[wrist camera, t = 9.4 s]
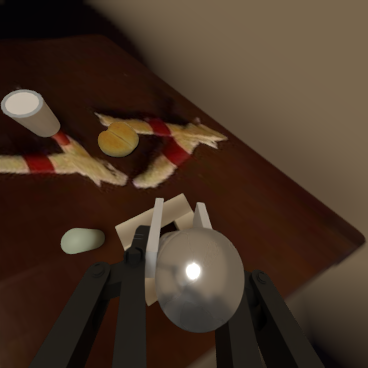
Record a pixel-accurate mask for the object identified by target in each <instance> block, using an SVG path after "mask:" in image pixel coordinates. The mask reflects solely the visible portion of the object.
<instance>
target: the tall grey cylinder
mask: <svg viewBox="0 0 368 368" xmlns="http://www.w3.org/2000/svg"><path fill="white" fill-rule="evenodd" d="M243 290H244V269H243V265H242V261H241V258H240V256H239V254H238V252H237V250H236V248H235V247H234V245H233V244H232V243H231V242H230V241H229V240H228V239H227V238H226V237H225V236H224V235H222V234H221V233H219V232H217V231H215V230H213V229H209V228H204V227H195V228H189V229H184V230H179V231H174V232H168V233H166V234H164V235H163V236H162V237H161V238H160V239H159V245H158V252H157V257H156V267H155V291H156V295H157V299H158V301H159V304H160V306H161V308H162V310H163V312H164V313H165V314H166V316H167V317H168V318H169V319H170V320H171V321H172V322H173V323H174V324H175V325H177V326H178V327H180V328H182V329H184V330H187V331H190V332H195V333H203V332H209V331H212V330H215V329H217V328H219V327H221V326H222V325H223V324H225V323H226V322H227V321H228V320H229V319H230V318H231V317H232V316H233V314H234V313H235V311H236V310H237V308H238V306H239V304H240V301H241V298H242V295H243Z"/></svg>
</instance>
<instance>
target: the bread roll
mask: <svg viewBox="0 0 368 368" xmlns="http://www.w3.org/2000/svg"><path fill="white" fill-rule="evenodd" d="M138 142H139V137H138V135H137V134H136V132H135V131H134V129H133V128H132V127H131V126H129V125H128V124H127V123H124V122H114V123H112V124H110V126H109V127H108V130H107V131H103V132H101V133H100V135H99V136H98V144H99V146H100V148H101V150H102V151H103V152H104V153H105V154H107V155H109V156H113V157H123V156H126V155H128V154H130V153H131V152H132V151H133V150H134V148H136V147H137V145H138Z"/></svg>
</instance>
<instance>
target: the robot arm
mask: <svg viewBox="0 0 368 368" xmlns="http://www.w3.org/2000/svg"><path fill="white" fill-rule="evenodd" d="M163 200H164V199H162V198H156V202H155V207H154V212H153V217H152V223H151V226H147V225H139V226H138V227H137V229H136V231H135V234H134V237H133V241H132V244H131V247H129V248H127V249H126V251H125V252H124V260H123V261H121V262H119V263H116V264H112V265H109V264H108V263H106V262H97V263H95V264H93V265H92V266H90V267H89V268H88V270H87V271H86V273H85V274H84V276H83V278H82V279H81V281H80V283H79V284H78V286H77V288H76V289H75V291H74V293H73V294H72V296H71V298H70V299H69V301H68V302H67V304H66V306H65V307H64V309H63V311H62V312H61V314H60V316H59V317H58V319H57V321H56V322H55V324H54V326H53V327H52V329H51V331H50V332H49V334H48V336H47V337H46V339H45V341H44V342H43V344H42V346H41V347H40V349H39V351H38V352H37V354H36V356H35V357H34V359H33V361H32V362H31V364H30V366H29V367H28V368H84V366H85V364H86V361H87V359H88V356H89V353H90V351H91V348H92V346H93V343H94V340H95V338H96V335H97V333H98V330H99V328H100V325H101V322H102V320H103V317H104V315H105V312H106V309H107V307H108V304H109V302H110V299H112V298H115V297H118V296H120V300H119V309H118V318H117V327H116V336H115V344H114V353H113V362H112V368H146V312H145V278H154V277H155V267H156V257H157V252H158V245H159V236H160V227H161V218H162V209H163ZM192 223H193V228H195V227H204V228H209V229H212V227H211V224H210V221H209V217H208V214H207V211H206V208H205V205H204V203H199V202H197V205H196V209H195V213H194V218H193V222H192ZM217 232H219V233H221V232H220V231H217ZM215 340H216V360H217V368H263V367H262V363H261V358H260V354H259V350H258V346H259V349H260V351H261V354H262V356H263V359H264V361H265V364H266V366H267V368H325V367H324V366H323V364H322V362H321V361H320V359H319V357H318V356H317V354H316V353H315V351H314V349H313V348H312V346H311V344H310V343H309V341H308V339H307V338H306V336H305V335H304V333H303V331H302V330H301V328H300V326H299V325H298V323H297V321H296V320H295V318H294V317H293V315H292V313H291V312H290V310H289V308H288V307H287V305H286V304H285V302H284V300H283V299H282V297H281V295H280V294H279V292H278V291H277V289H276V287H275V286H274V284H273V282H272V281H271V279H270V278H269V276H268V275H267V274H266V273H264V272H263V271H261V270H254V271H253V272H252V273H251V272H248V271H245V270H244V290H243V295H242V298H241V301H240V304H239V306H238V308H237V310H236V311H235V313H234V314H233V316H232V317H231V318H230V319H229V320H228V321H227V322H226V323H225V324H223V325H222V326H221V327H219V328H217V329H215ZM257 343H258V345H257Z"/></svg>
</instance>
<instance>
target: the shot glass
mask: <svg viewBox="0 0 368 368" xmlns="http://www.w3.org/2000/svg"><path fill="white" fill-rule="evenodd" d="M1 108H2V110H3V112H4V113H5V114H7V115H8V116H10V117H11V118H13V119H14V120H16V121H17V122H19V123H20V124H22V125H23V126H25V127H26V128H28V129H29V130H31V131H32V132H34V133H35V134H37V135H38V136H42V137H49V136H52V135H54V134H56V133H57V132H58V131H59V129H60V123H59V121H58V120H57V118H56V117H55V115H54V114H53V113H52V111H51V110H50V108H49V107H48V106H47V104H46V103H45V101H44V100H43V98H42V97H41V96H40V95H39V94H38V93H36V92H35V91H30V90H18V91H15V92H11V93H10V94H8V95H7V96H5V98H4V99H3V100H2V102H1Z"/></svg>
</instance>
